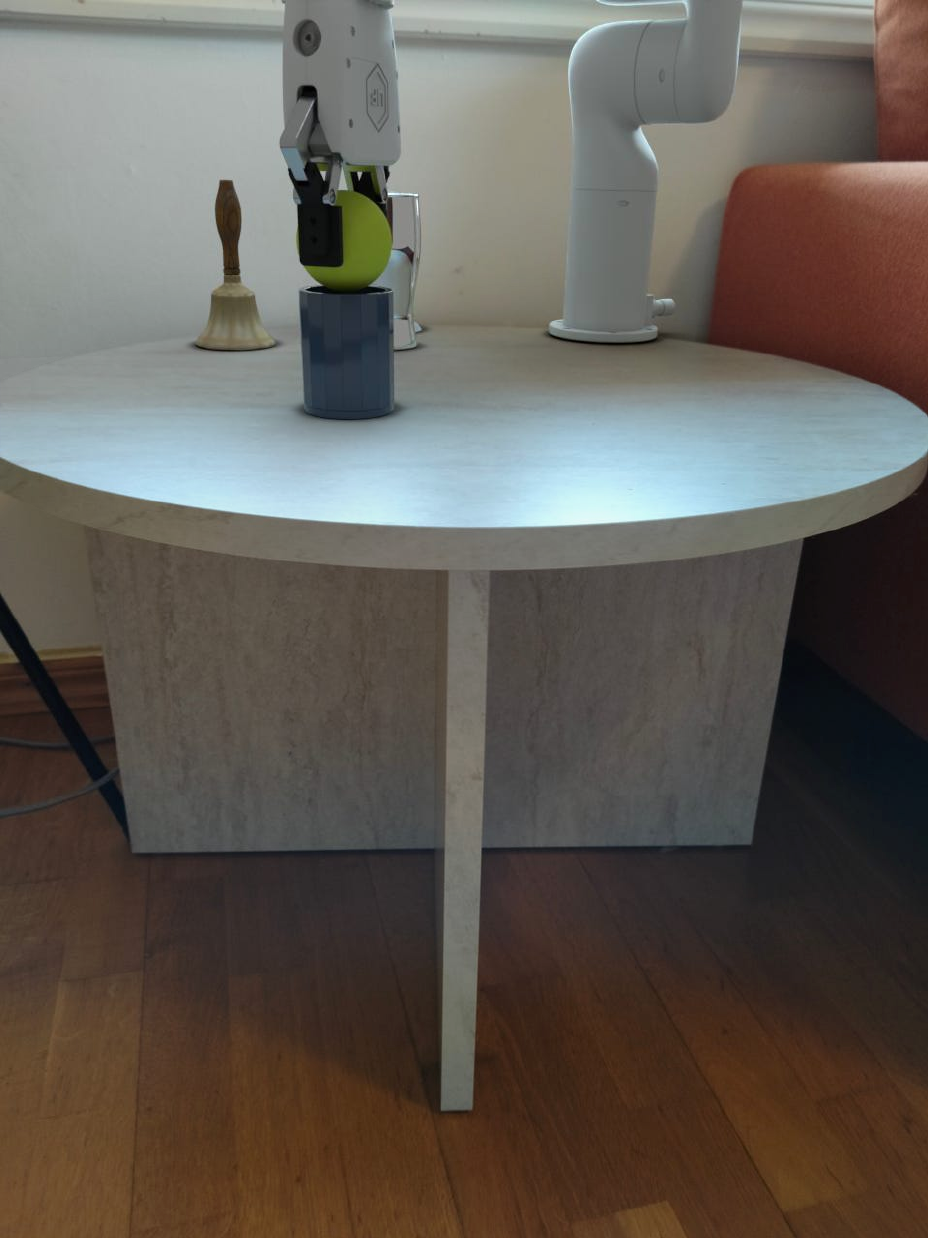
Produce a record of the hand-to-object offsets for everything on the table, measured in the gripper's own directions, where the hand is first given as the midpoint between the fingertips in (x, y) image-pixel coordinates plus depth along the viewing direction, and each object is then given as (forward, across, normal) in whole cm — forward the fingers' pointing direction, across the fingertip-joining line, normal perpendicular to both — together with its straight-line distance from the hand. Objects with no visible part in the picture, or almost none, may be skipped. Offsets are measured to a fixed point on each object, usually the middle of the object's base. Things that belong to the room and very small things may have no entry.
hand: (344, 260), depth 73 cm
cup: (+11, 0, 0) cm, 11 cm away
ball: (-1, 0, 0) cm, 1 cm away
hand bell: (+11, +23, +24) cm, 35 cm away
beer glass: (+11, +30, +9) cm, 33 cm away
